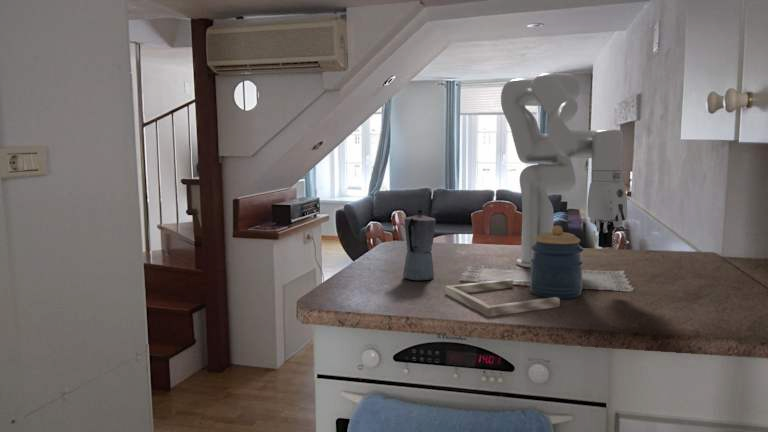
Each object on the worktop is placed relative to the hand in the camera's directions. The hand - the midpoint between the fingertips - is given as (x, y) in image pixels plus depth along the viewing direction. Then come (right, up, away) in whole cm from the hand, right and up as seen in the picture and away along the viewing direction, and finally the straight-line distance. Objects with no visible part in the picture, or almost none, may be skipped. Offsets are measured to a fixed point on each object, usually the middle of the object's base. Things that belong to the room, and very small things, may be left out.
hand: (605, 246), depth 148 cm
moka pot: (-48, -10, +14) cm, 51 cm away
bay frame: (-29, -13, -9) cm, 33 cm away
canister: (-14, -12, -3) cm, 19 cm away
